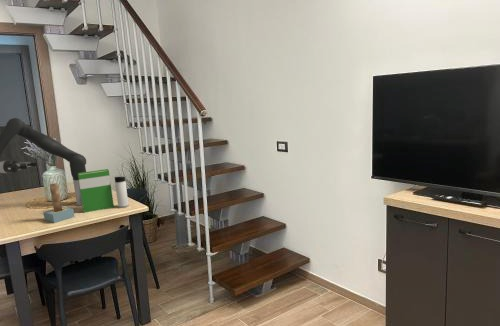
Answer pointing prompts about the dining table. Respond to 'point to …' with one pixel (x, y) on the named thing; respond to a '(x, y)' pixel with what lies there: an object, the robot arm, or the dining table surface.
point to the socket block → (59, 215)
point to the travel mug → (121, 192)
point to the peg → (56, 197)
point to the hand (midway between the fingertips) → (31, 165)
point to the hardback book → (95, 190)
